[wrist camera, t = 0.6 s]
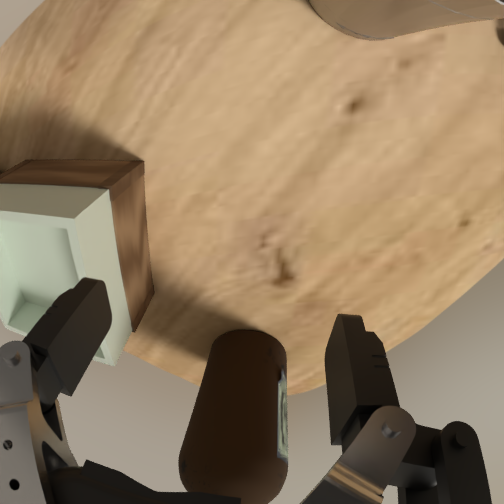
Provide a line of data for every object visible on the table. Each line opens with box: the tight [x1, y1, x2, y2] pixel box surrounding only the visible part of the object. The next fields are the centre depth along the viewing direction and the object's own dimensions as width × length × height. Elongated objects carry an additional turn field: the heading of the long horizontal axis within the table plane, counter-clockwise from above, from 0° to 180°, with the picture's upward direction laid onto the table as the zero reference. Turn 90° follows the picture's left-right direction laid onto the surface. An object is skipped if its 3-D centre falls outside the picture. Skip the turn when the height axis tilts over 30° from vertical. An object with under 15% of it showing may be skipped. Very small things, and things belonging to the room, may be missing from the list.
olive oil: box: [179, 330, 288, 504], centre depth 27 cm, size 11×11×25 cm
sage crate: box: [0, 184, 132, 366], centre depth 23 cm, size 15×15×5 cm
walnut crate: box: [0, 160, 154, 332], centre depth 27 cm, size 15×15×6 cm
